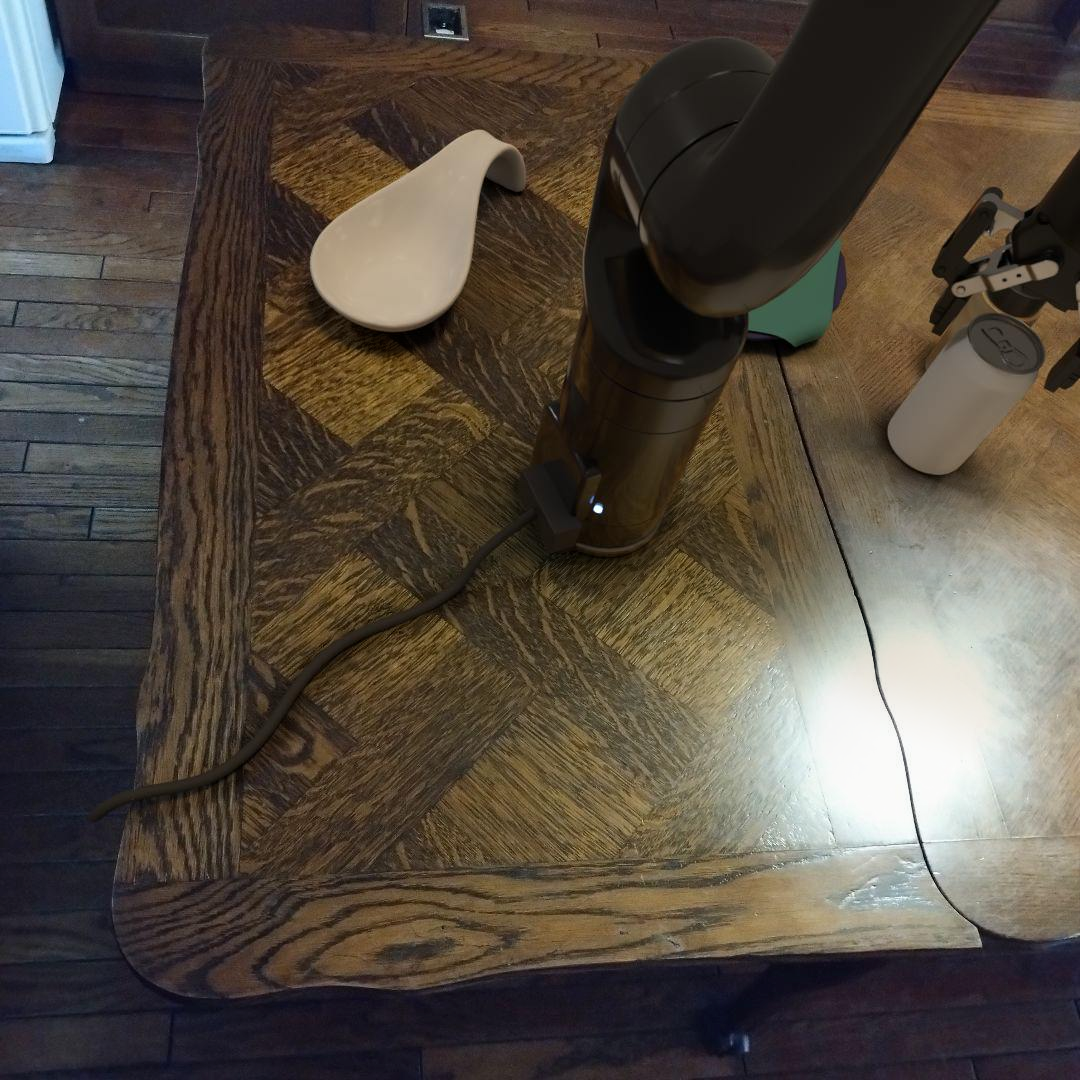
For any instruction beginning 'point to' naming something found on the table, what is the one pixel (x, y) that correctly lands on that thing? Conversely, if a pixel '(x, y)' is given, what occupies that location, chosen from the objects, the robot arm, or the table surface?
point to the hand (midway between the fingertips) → (994, 355)
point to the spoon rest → (412, 237)
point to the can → (966, 392)
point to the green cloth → (803, 304)
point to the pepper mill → (988, 301)
